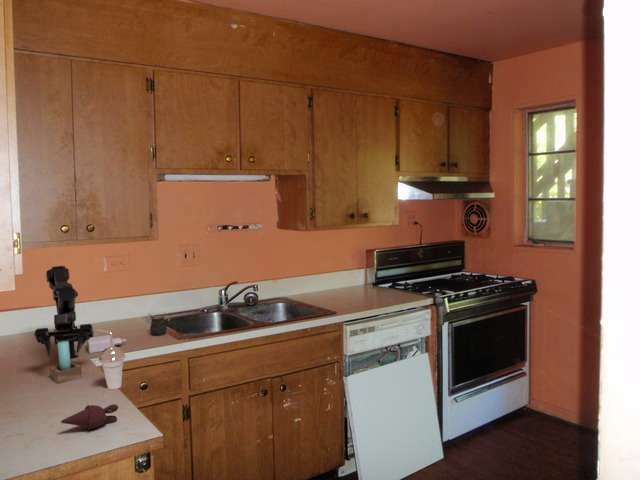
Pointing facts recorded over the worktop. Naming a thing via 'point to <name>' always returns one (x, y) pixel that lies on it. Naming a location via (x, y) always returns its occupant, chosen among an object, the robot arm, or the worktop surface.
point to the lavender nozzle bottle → (102, 343)
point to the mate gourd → (158, 325)
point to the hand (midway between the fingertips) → (63, 354)
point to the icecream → (92, 416)
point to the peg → (64, 355)
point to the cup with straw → (112, 364)
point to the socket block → (65, 373)
